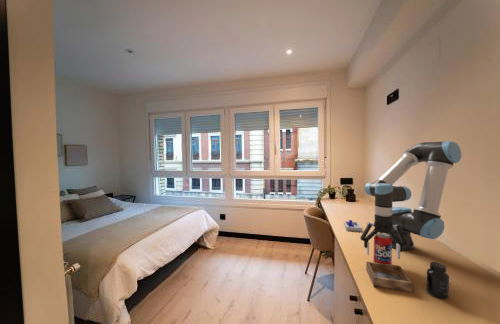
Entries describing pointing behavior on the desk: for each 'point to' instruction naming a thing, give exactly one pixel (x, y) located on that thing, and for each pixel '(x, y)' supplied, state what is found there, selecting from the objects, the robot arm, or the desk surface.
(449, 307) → the desk surface
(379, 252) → the soda can
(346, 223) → the grey desk tray
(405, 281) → the walnut box
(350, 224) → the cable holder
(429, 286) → the supplement bottle
